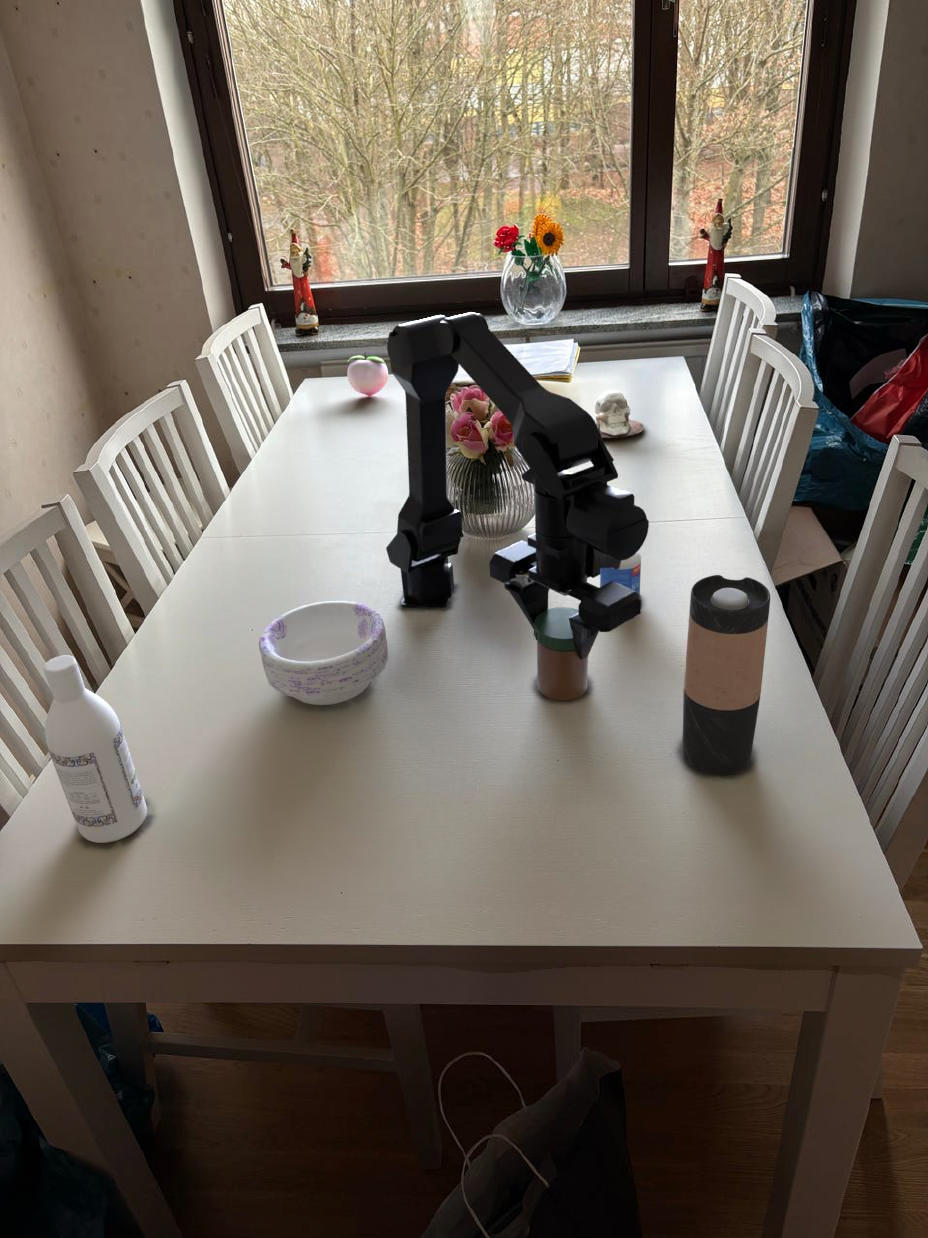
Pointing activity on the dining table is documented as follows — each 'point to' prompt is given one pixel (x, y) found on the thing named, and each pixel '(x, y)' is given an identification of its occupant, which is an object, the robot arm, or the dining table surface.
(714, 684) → the travel mug
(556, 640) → the jar lid
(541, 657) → the honey jar
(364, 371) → the decorative fruit
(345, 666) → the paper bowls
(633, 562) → the pill bottle
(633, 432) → the skull
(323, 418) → the dining table surface
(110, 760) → the bath foam
